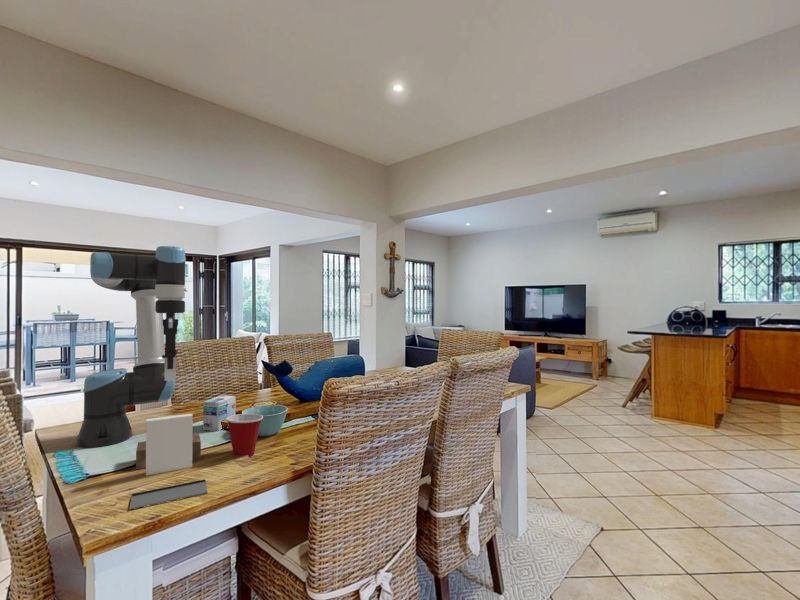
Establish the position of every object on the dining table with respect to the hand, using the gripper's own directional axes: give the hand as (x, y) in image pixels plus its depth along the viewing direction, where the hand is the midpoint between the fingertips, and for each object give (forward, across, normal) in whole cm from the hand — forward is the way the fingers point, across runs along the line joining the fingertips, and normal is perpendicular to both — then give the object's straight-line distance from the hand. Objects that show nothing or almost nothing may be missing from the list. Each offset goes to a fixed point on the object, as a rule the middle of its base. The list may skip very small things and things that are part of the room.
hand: (169, 377), depth 116 cm
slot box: (+25, +1, 0) cm, 25 cm away
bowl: (+25, +14, -30) cm, 42 cm away
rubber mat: (+25, -16, 0) cm, 30 cm away
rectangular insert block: (+25, -8, 0) cm, 26 cm away
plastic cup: (+25, -4, -20) cm, 33 cm away
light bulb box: (+25, +29, -17) cm, 42 cm away
